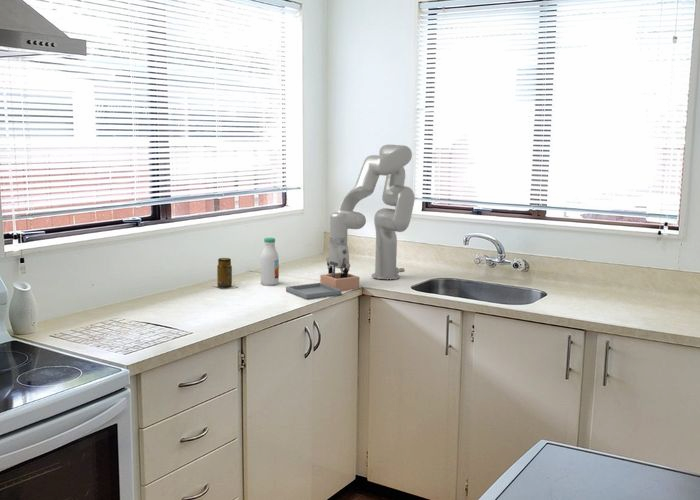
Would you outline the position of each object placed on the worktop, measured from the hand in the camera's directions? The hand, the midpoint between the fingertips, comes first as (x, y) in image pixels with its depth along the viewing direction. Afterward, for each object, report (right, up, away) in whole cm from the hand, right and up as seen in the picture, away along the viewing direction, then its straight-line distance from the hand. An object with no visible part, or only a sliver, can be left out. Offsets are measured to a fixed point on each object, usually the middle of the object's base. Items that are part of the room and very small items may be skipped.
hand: (337, 280), depth 331 cm
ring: (+1, -3, -5) cm, 6 cm away
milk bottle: (-29, -2, -1) cm, 29 cm away
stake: (-2, -3, -7) cm, 8 cm away
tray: (-10, -5, -17) cm, 20 cm away
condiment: (-47, -3, -8) cm, 48 cm away
